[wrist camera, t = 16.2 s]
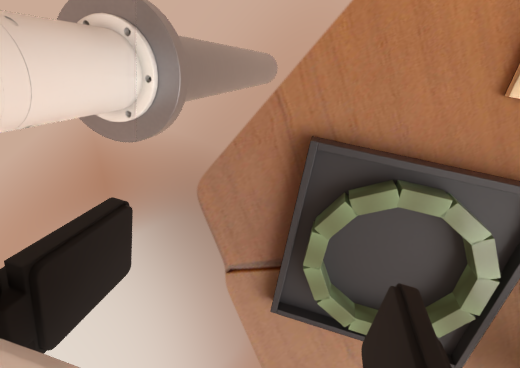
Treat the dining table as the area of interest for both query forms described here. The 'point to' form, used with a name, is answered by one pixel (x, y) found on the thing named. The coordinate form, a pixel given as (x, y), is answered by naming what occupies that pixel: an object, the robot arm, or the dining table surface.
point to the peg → (514, 86)
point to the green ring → (420, 200)
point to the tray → (396, 239)
